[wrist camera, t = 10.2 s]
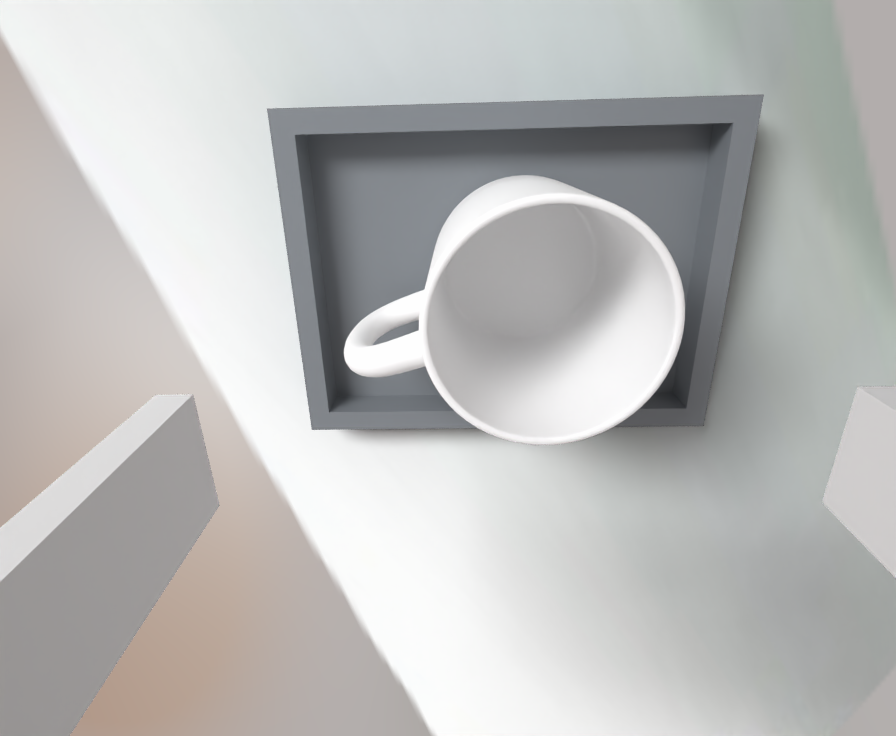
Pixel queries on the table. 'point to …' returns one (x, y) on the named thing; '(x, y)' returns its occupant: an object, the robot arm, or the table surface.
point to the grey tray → (465, 170)
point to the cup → (536, 314)
